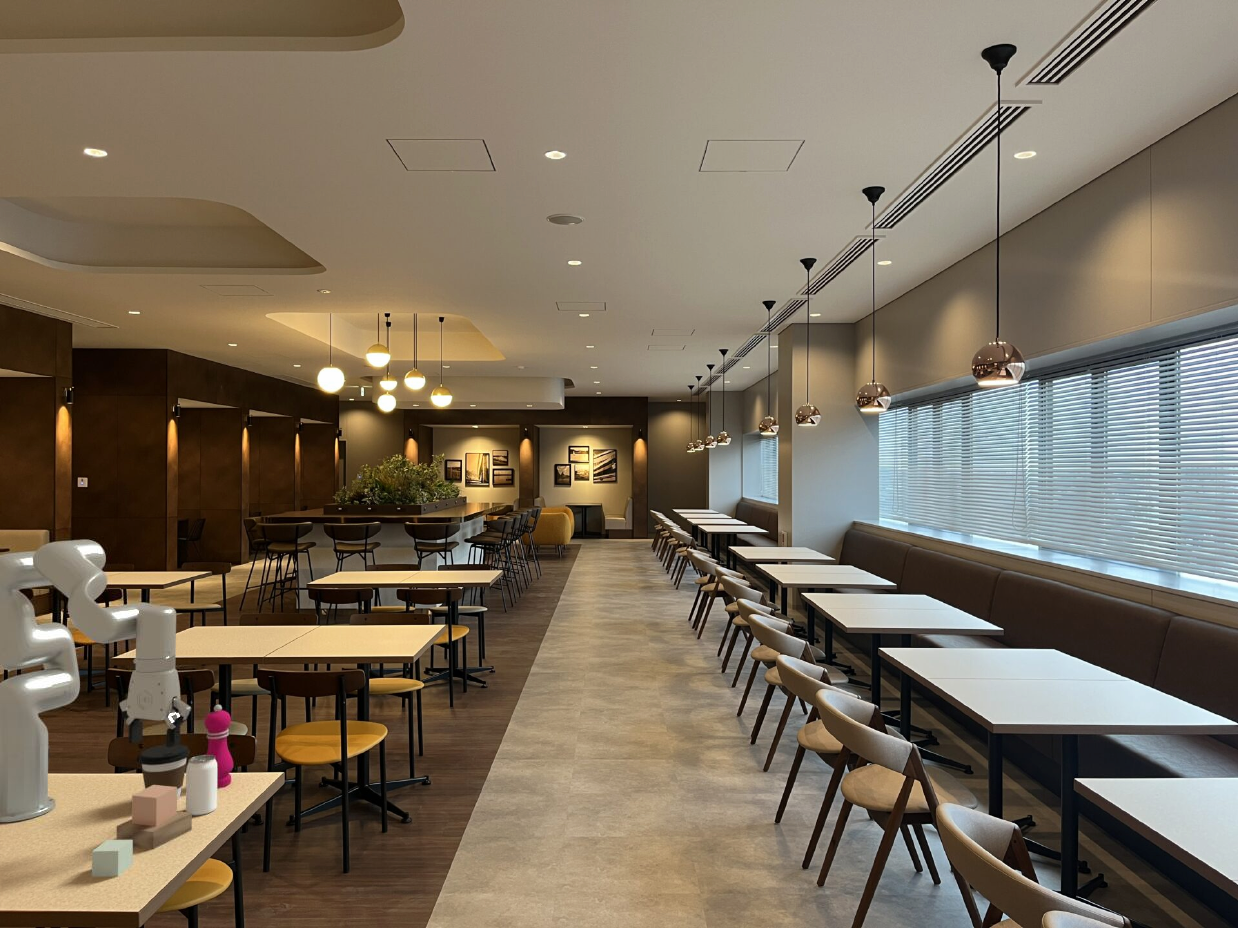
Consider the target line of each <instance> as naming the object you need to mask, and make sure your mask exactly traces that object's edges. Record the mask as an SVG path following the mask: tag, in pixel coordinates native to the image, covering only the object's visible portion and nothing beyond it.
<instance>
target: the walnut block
mask: <svg viewBox="0 0 1238 928" xmlns="http://www.w3.org/2000/svg"><path fill="white" fill-rule="evenodd" d="M192 820H193V816H192V813H186V811H178V810H177V815H175V816H174V817H172V818H170V819H168V820H167V821H165V822H163V823H161V824H159V825H158V826H149V825H140V824H132V818H131V819H130V820H127V821H125V822H122V823H120V824H119V825H117V826H116V840H133V847H138V848H141V849H142V848H143V849H149V850H155V849H158V848H159V847H161V846H163V845H164V844H167V843H168V842H169V843H170V841H172V840H175V839H176V838H178V837H181V836H182V835H185V834H187V833H188V832H191V831H192V830H193V824H192V823H193V821H192Z"/></svg>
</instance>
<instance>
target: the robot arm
mask: <svg viewBox="0 0 1238 928" xmlns="http://www.w3.org/2000/svg"><path fill="white" fill-rule="evenodd" d="M106 557H107V556H106V553H105V550H104V548H103V547H102V546H101V544H100V543H98V542H96V541H94V540H90V539H74V540H61V541H52V542H48V543H46V544H43V545H42V546H40V547H39V548H38V549H37V550H33V551H20V552H18V551H17V552H10V553H4V554H0V668H1V669H3V670H6V671H13V670H14V671H15V670H21V669H27V668H31V667H35V666H41V665H43V670H38V671H37V670H36V671H31V672H28V673H23V674H18V675H15V676H12V677H9V678H7V679H5V680H3V681H1V682H0V823H12V822H20V821H25V820H29V819H33V818H36V817H39V816H42V815H45V814H46V813H48V812H50V811H52V810H54V808H55V807H56V805H57V804H56V802H57V801H56V799H55V798H54V797H50V796H49V795H48V794H49V793H48V791H49V790H48V789H49V784H48V783H49V781H48V780H49V731H48V727H47V725H45V723H44V722H43V720H42V719H41V718H40V717H39V714H40V713H43V712H46V711H50V710H55V709H58V708H61V707H64V706H67V705H69V704H71V703H72V702H74V701H75V700H76V699H77V697H78V696H79V693H80V690H81V687H80V686H81V684H80V683H81V681H80V680H81V679H80V672H79V666H78V658H77V652H76V646H75V640H74V637H73V635H72V632H71V631H70V630H69V628H68V627H67V626H66V625H64V624H62V623H59V622H45V623H37V621H36V615H35V608H34V605H33V604H32V602H31V600H29V598H28V596H26V595H25V594H24V593H22V592H21V591H20V590H23V589H30V588H38V587H45V586H53V587H55V588H56V589H57V590H58V591H60V593H62V595H64V596H65V597H67V598H68V601H67V611H68V616H69V619H70V621H71V624H72V625H73V626H74V627H75V629H77V630H78V631H79V632H81V634H83V635H84V636H85V637H86V638H88V639H89V640H91V641H93V642H96V643H99V644H111V643H114V642H120V641H125V640H130V639H136V640H135V642H136V643H135V657H134V659H133V661H132V662H133V664H135V670H133V671H132V673H131V675H130V676H131V677H130V680H129V685H128V692H127V698H126V699H124V700H121V702H119V703H118V705H119V707H120V709H121V712H122V713H121V714H122V716H123V718H124V719H125V720H126V721H125V723H126V726H128V744H130V745H132V744H135V743H137V742H139V741H142V740H143V733H144V732H143V730H144V727H143V726H144V725H143V724H144V723H143V720H149V721H165V723H166V724H167V726H168V727H169V728H167V729H166V745H167V747H169V748H170V747H173V746H175V745H177V744H181V726H183V725H184V723H185V722H186V721H187V719H189V717H188V716H189V715H190V712H191V710H192V707H191V706H190V705H189V704H188V703H186V702H184V701H183V700H181V687H180V680H179V673H178V670H177V669H176V653H177V652H176V650H177V649H176V646H177V645H176V644H177V642H176V641H177V635H176V634H177V611H176V609H175V608H174V607H172V606H167V605H155V604H152V603H149V602H142V601H141V602H134V603H127V604H122V605H120V604H119V605H114V606H109V607H108V606H107V607H103V606H102V605H99V604H98V603H97V602H96V601H95V600H96V599H97V598H99V596H101V594H102V593H103V592H104V591H105V589H106V587H107V585H108V576H107V574H106V572H105V571H103V568H104V567H105V564H106V561H107V560H106V559H107V558H106ZM141 720H142V721H141Z"/></svg>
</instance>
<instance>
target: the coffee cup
mask: <svg viewBox="0 0 1238 928" xmlns="http://www.w3.org/2000/svg"><path fill="white" fill-rule="evenodd" d="M190 755H191V752H190V749H189V746H187V745H185V744H181V743H179V744H177V745H175V746H173V747H170V748H169V747H167V744H161V745H156V746H153V747H149V748H147V749H145V750H143V751H142V752H141V753H140V756H139V757H138V763H139V764H141V766H142V767H141V772H142V777H143V783H144V789H146V788H148V787H150V786H152V785H160V786H171V787H177V801H178V800H179V799H180V796H181V793H182V792H181V791H182V787H183V786H184V785H183V784H184V779H185V775H186V767H187V758H188V757H189V756H190Z"/></svg>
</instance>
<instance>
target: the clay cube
mask: <svg viewBox="0 0 1238 928" xmlns="http://www.w3.org/2000/svg"><path fill="white" fill-rule="evenodd" d="M131 808H132V809H131V811H132V812H131V819H132V824H140V825H149V826H158V825H159V824H161V823H163V822H165V821H167V820H168V819H170V818H172V817H174V816H175V815H177V811H178V800H177V787H171V786H160V785H152V786H150V787H148V788H146V789H145V788H144V789H142V790H141V791H138V792H136V793H134V794H133V795H132V796H131Z"/></svg>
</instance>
